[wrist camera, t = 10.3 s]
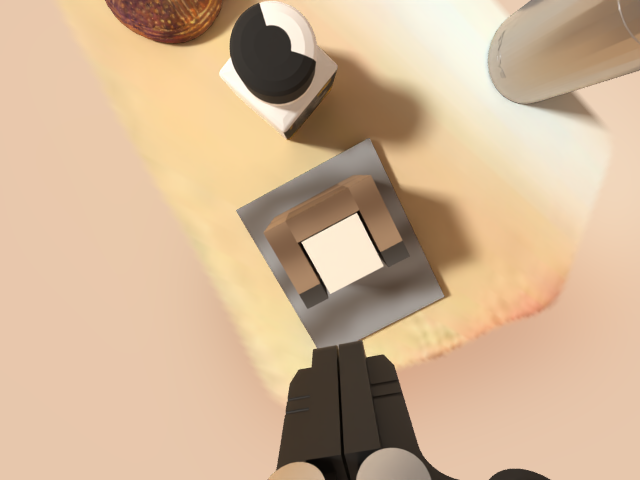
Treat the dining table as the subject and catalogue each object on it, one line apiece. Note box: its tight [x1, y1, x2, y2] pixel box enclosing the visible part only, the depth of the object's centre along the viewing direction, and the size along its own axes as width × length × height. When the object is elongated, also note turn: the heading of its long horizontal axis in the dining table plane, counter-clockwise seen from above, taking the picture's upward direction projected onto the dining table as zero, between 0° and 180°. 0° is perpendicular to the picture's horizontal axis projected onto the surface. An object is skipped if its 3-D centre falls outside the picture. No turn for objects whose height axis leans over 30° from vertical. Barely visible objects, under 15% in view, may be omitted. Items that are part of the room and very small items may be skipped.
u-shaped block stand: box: [236, 138, 445, 349], centre depth 32 cm, size 20×16×10 cm
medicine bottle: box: [220, 1, 337, 140], centre depth 27 cm, size 7×7×12 cm
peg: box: [302, 212, 383, 294], centre depth 30 cm, size 5×5×9 cm
